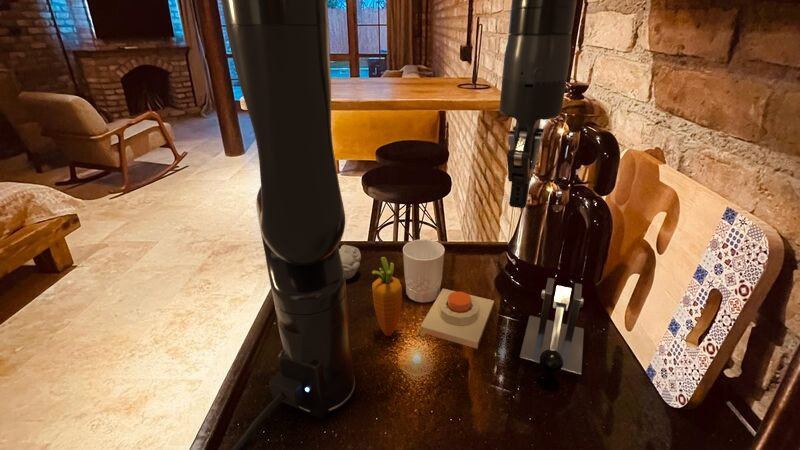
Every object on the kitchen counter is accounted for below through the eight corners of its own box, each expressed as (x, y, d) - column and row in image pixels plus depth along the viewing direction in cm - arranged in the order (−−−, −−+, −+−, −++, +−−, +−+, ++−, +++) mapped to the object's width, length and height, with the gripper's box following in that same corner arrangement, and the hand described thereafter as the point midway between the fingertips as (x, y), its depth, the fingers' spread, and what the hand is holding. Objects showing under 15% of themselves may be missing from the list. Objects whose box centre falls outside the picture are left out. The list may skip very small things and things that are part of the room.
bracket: (580, 380, 61) (595, 317, 56) (518, 362, 64) (528, 301, 59) (582, 333, 70) (596, 276, 64) (528, 320, 73) (537, 264, 68)
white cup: (431, 309, 76) (432, 264, 72) (395, 296, 80) (394, 252, 75) (449, 288, 82) (451, 245, 78) (415, 277, 86) (415, 235, 81)
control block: (477, 352, 66) (479, 333, 64) (419, 336, 70) (420, 317, 68) (493, 309, 76) (495, 292, 74) (442, 297, 80) (442, 280, 78)
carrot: (399, 347, 67) (398, 271, 61) (370, 343, 68) (366, 268, 62) (405, 328, 72) (404, 254, 65) (378, 324, 73) (374, 252, 66)
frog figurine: (368, 274, 87) (366, 245, 84) (345, 289, 82) (343, 260, 79) (347, 265, 91) (345, 237, 88) (324, 279, 86) (321, 250, 83)
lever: (560, 378, 58) (562, 372, 55) (536, 371, 59) (538, 365, 56) (573, 296, 64) (575, 287, 61) (551, 292, 65) (553, 283, 62)
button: (467, 316, 69) (467, 307, 68) (444, 310, 70) (445, 302, 70) (473, 302, 72) (473, 294, 71) (451, 297, 74) (452, 289, 73)
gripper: (512, 69, 56) (500, 186, 64) (491, 80, 45) (480, 220, 53) (570, 70, 53) (550, 193, 61) (562, 83, 43) (539, 230, 50)
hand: (517, 205), depth 57 cm, fingers closed
